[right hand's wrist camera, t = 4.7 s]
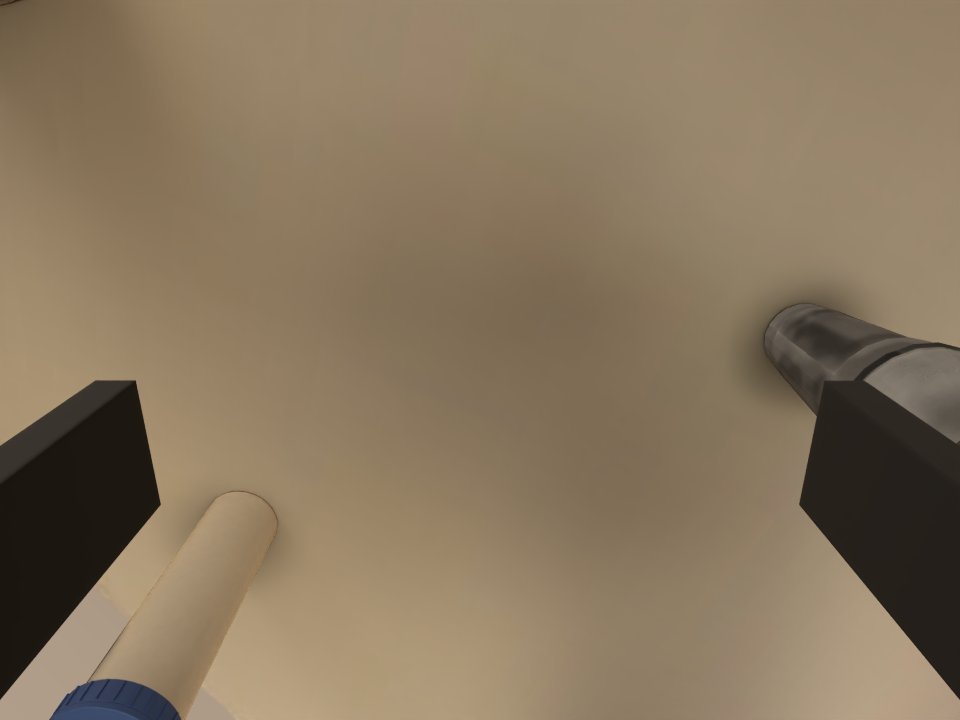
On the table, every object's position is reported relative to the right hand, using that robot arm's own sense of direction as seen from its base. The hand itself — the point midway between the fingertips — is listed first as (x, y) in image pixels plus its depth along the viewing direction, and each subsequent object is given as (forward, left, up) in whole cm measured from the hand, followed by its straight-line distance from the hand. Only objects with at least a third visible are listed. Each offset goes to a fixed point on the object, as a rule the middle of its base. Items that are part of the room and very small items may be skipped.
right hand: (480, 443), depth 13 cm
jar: (-21, +17, -28) cm, 39 cm away
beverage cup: (-7, -20, -28) cm, 35 cm away
